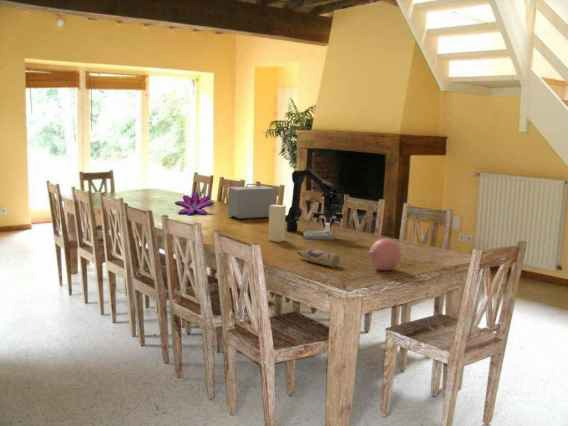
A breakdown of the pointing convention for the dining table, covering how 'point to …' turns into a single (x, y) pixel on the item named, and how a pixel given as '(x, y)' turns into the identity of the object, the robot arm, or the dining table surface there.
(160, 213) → the dining table surface
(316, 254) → the decorative bottle
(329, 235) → the console
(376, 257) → the pink round piece
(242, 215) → the vintage electronic device
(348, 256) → the dining table surface
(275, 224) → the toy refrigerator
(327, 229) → the fader tab
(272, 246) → the dining table surface
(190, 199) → the decorative flower
